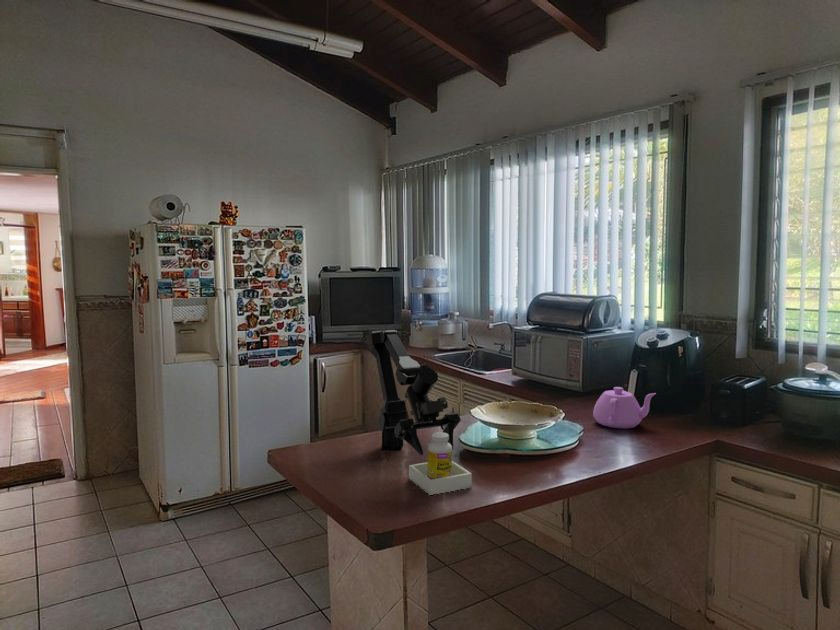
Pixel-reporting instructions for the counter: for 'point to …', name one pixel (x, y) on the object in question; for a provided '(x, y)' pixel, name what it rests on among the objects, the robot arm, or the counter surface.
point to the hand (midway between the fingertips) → (437, 452)
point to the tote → (440, 479)
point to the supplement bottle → (439, 456)
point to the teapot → (620, 409)
